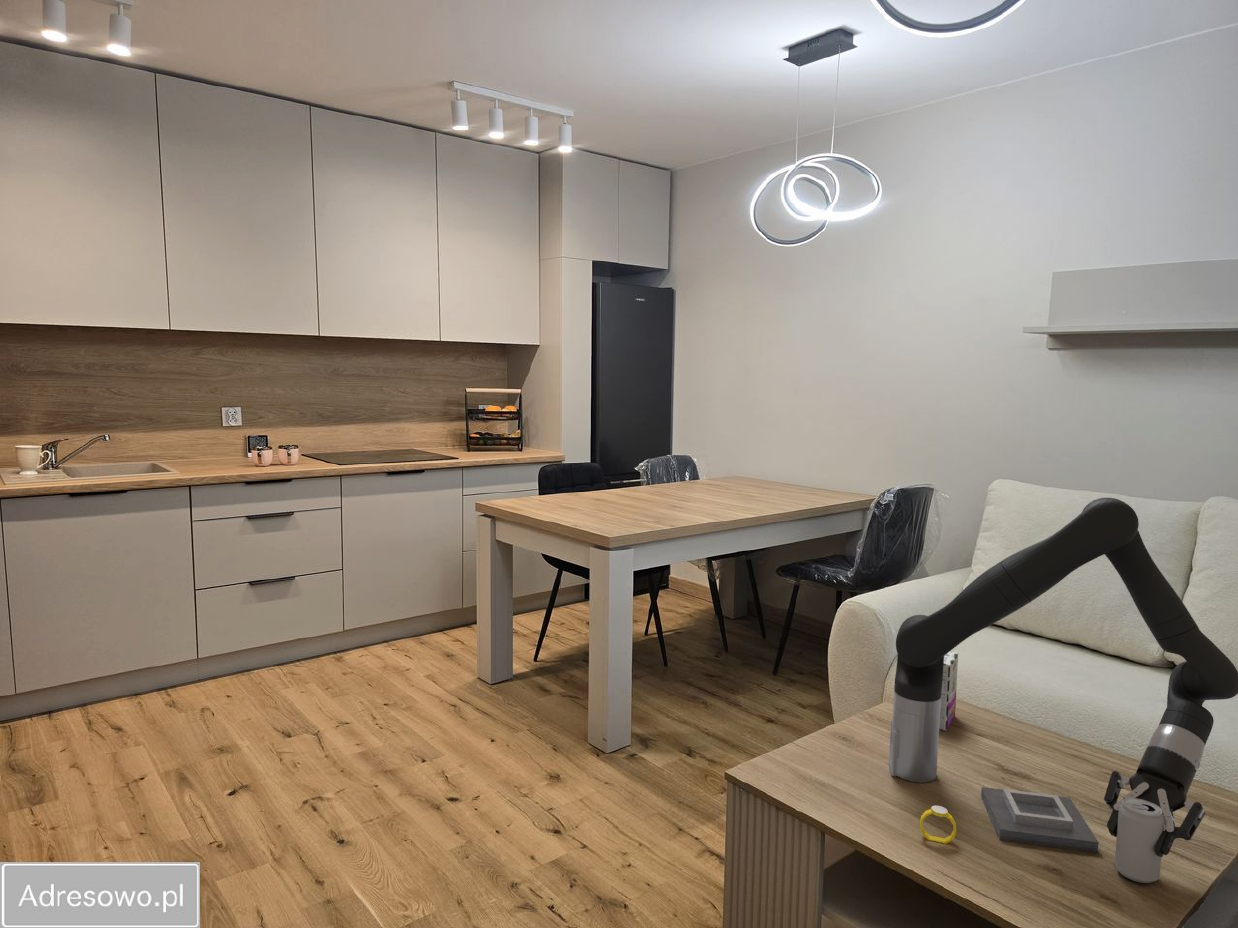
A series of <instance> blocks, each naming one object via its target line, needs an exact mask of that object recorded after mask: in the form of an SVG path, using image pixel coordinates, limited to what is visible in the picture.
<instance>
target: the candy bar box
mask: <svg viewBox="0 0 1238 928" xmlns="http://www.w3.org/2000/svg"><path fill="white" fill-rule="evenodd" d="M958 660H959V652H957V651H952V650H951V651H950V652H948V653H947V654H946V655H945V656H944V666H943V682H942V692H941V708H940V724H939V731H945V732H947V731H948V730H949V728H950V726H951V724H952V722H953V721H954V718H955V716H956V708H957V707H956V706H957V705H956V703H957V688H958V687H957V682H958V663H959V661H958Z"/></svg>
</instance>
